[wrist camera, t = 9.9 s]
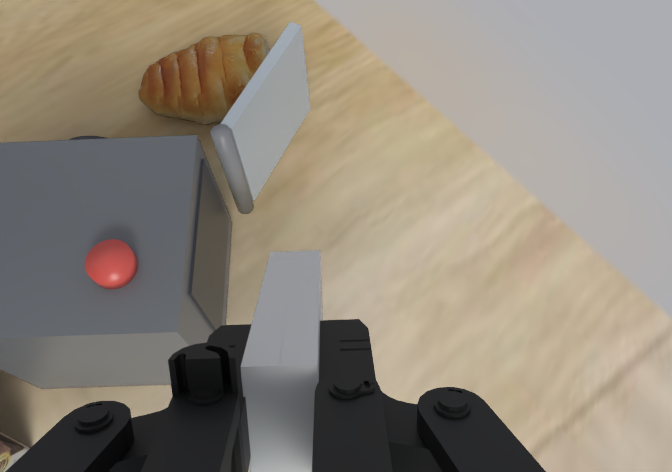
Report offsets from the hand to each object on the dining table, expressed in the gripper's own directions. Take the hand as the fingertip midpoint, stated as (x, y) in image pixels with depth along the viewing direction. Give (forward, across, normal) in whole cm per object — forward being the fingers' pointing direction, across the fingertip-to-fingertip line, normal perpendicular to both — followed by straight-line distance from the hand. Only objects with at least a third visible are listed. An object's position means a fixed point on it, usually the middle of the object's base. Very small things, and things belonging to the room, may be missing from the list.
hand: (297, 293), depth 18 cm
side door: (+21, -2, 0) cm, 21 cm away
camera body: (+15, -10, -7) cm, 20 cm away
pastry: (+27, -6, +4) cm, 28 cm away
